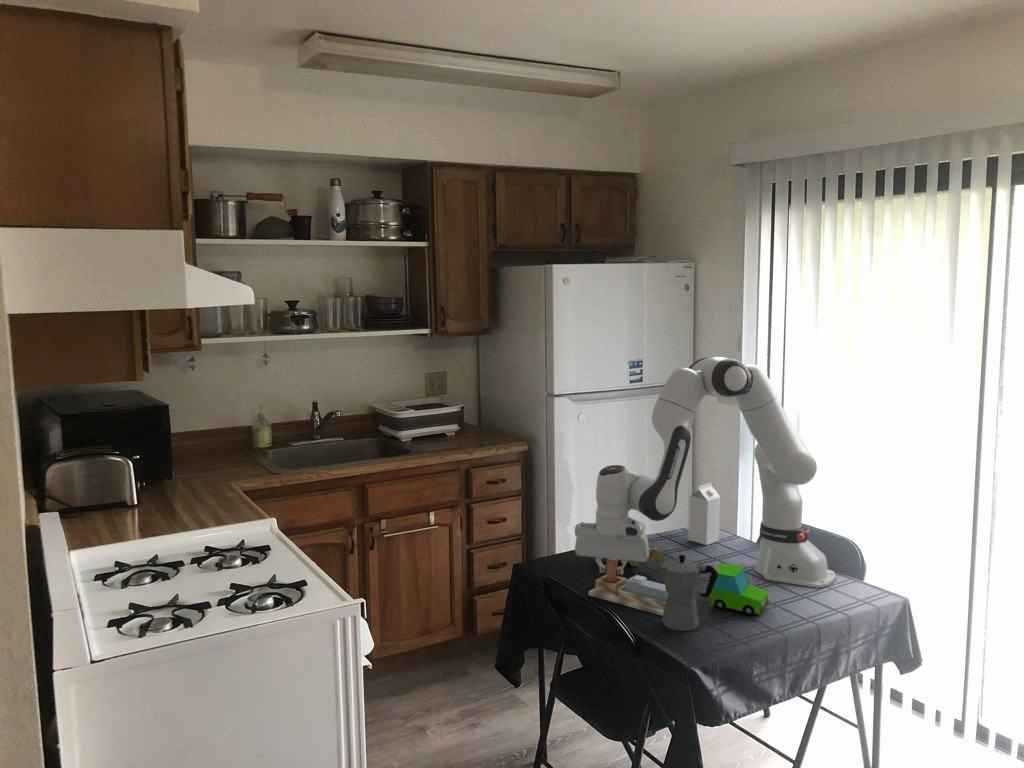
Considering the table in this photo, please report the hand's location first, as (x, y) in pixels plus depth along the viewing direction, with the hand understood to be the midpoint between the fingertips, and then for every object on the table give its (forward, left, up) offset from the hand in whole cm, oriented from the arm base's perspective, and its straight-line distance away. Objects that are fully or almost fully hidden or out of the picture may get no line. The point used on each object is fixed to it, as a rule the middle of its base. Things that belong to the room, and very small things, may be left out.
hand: (611, 573), depth 233 cm
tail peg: (0, 0, -4) cm, 4 cm away
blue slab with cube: (-12, 0, -4) cm, 12 cm away
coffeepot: (-26, +7, -6) cm, 27 cm away
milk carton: (-1, -56, -6) cm, 56 cm away
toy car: (-33, -11, -6) cm, 35 cm away
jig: (-8, 0, -5) cm, 10 cm away
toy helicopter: (+5, -21, -6) cm, 23 cm away
